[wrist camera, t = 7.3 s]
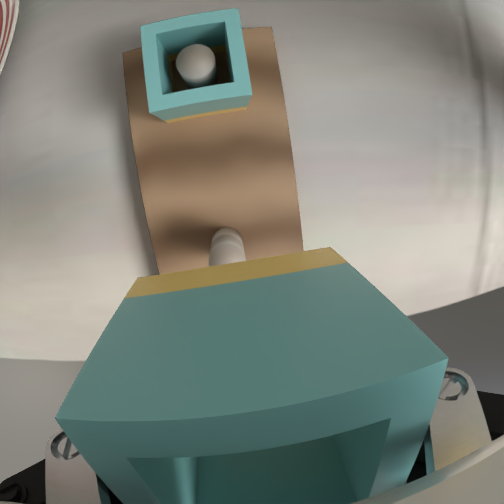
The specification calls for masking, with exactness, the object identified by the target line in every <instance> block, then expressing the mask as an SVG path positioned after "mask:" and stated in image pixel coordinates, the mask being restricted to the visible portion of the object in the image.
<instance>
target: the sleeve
mask: <svg viewBox="0 0 504 504" xmlns="http://www.w3.org/2000/svg"><path fill="white" fill-rule="evenodd" d="M447 362H448V357H447V356H446V355H445V354H444V353H443V352H442V351H441V350H440V349H439V348H438V347H437V346H436V345H435V344H434V343H433V342H432V341H431V340H430V339H429V338H428V337H427V336H426V335H425V334H424V333H423V332H422V331H421V330H420V329H419V328H418V327H417V326H416V325H415V324H414V323H413V322H412V321H411V320H410V319H409V318H408V317H407V316H406V315H404V314H403V313H402V312H401V311H400V310H399V309H398V308H397V307H396V306H395V305H394V304H393V303H392V302H391V301H390V300H389V299H387V298H386V297H385V296H384V295H383V294H382V293H381V292H380V291H379V290H378V289H377V288H376V287H375V286H373V285H372V284H371V283H370V282H369V281H368V280H367V279H366V278H365V277H364V276H362V275H361V274H360V273H359V272H358V271H357V270H356V269H355V268H354V267H352V266H351V265H350V264H349V263H348V262H347V261H346V260H345V259H343V258H342V257H341V256H340V255H339V254H338V253H337V252H336V251H334V250H333V249H332V248H331V247H327V248H321V249H315V250H309V251H303V252H297V253H291V254H284V255H278V256H272V257H266V258H260V259H254V260H248V261H241V262H235V263H229V264H223V265H216V266H210V267H204V268H198V269H191V270H185V271H179V272H172V273H166V274H159V275H153V276H147V277H140V278H137V280H136V281H135V283H134V284H133V286H132V287H131V289H130V290H129V292H128V293H127V295H126V296H125V298H124V299H123V301H122V303H121V304H120V306H119V307H118V309H117V310H116V312H115V314H114V315H113V317H112V318H111V320H110V322H109V323H108V325H107V327H106V328H105V330H104V332H103V333H102V335H101V336H100V338H99V340H98V341H97V343H96V345H95V347H94V348H93V350H92V352H91V353H90V355H89V357H88V359H87V360H86V362H85V364H84V366H83V367H82V369H81V371H80V373H79V374H78V376H77V378H76V380H75V382H74V384H73V385H72V387H71V389H70V391H69V392H68V395H67V396H66V398H65V400H64V402H63V404H62V406H61V408H60V409H59V412H58V413H57V415H56V417H55V419H56V420H57V422H58V423H59V425H60V426H61V428H62V429H63V431H64V432H65V434H66V435H67V436H68V438H69V439H70V441H71V442H72V443H73V445H74V446H75V447H76V449H77V450H78V451H79V453H80V454H81V455H82V457H83V458H84V459H85V460H86V462H87V463H88V464H89V465H90V467H91V468H92V469H93V470H94V472H95V473H96V474H97V475H98V476H99V477H100V479H101V480H102V481H103V482H104V483H105V484H106V485H107V487H108V488H109V489H110V490H111V491H112V492H113V493H114V494H115V495H116V496H117V497H118V499H119V500H120V501H121V502H122V503H123V504H350V503H354V502H357V501H360V500H364V499H367V498H370V497H373V496H376V495H379V494H381V493H384V492H387V491H390V490H392V489H395V488H398V487H400V486H403V485H404V484H405V482H406V480H407V478H408V476H409V474H410V471H411V469H412V467H413V464H414V462H415V460H416V457H417V455H418V453H419V450H420V448H421V445H422V442H423V440H424V437H425V435H426V432H427V429H428V426H429V423H430V421H431V418H432V415H433V412H434V409H435V406H436V402H437V399H438V396H439V392H440V389H441V385H442V382H443V378H444V375H445V371H446V367H447Z"/></svg>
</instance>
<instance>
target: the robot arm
mask: <svg viewBox="0 0 504 504" xmlns="http://www.w3.org/2000/svg"><path fill="white" fill-rule="evenodd" d="M0 504H123V503H122V502H121V501H120V500H119V499H118V497H117V496H116V495H115V494H114V493H113V492H112V491H111V490H110V489H109V488H108V487H107V485H106V484H105V483H104V482H103V481H102V480H101V479H100V477H99V476H98V475H97V474H96V473H95V472H94V470H93V469H92V468H91V467H90V465H89V464H88V463H87V462H86V460H85V459H84V458H83V457H82V455H81V454H80V453H79V451H78V450H77V449H76V447H75V446H74V445H73V443H72V442H71V441H70V439H69V438H68V436H67V435H66V434H65V432H64V431H63V429H60V430H58V431H57V432H55V433H54V434H53V435H52V436H51V437H50V439H49V440H48V442H47V445H46V458H45V459H44V460H42V461H40V462H38V463H36V464H35V465H33V466H31V467H29V468H27V469H25V470H23V471H21V472H19V473H17V474H15V475H13V476H11V477H10V478H7V479H6V480H4V481H3V482H2V483H1V484H0ZM350 504H504V395H500V394H494V393H487V392H481V391H476V389H475V386H474V383H473V381H472V379H471V378H470V377H469V375H467V374H466V373H465V372H463V371H461V370H458V369H454V368H446V371H445V375H444V378H443V382H442V385H441V389H440V392H439V396H438V399H437V402H436V406H435V409H434V412H433V415H432V418H431V421H430V423H429V426H428V429H427V432H426V435H425V437H424V440H423V442H422V445H421V448H420V450H419V453H418V455H417V457H416V460H415V462H414V464H413V467H412V469H411V471H410V474H409V476H408V478H407V480H406V482H405V484H404V485H403V486H400V487H398V488H395V489H392V490H390V491H387V492H384V493H381V494H379V495H376V496H373V497H370V498H367V499H364V500H360V501H357V502H354V503H350Z"/></svg>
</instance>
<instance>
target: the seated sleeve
mask: <svg viewBox="0 0 504 504" xmlns="http://www.w3.org/2000/svg"><path fill="white" fill-rule="evenodd" d="M140 29H141V42H142V53H143V63H144V73H145V82H146V91H147V99H148V106H149V113H151V114H152V115H154V116H156V117H158V118H160V119H162V120H163V121H165V122H167V123H171V122H175V121H180V120H185V119H190V118H196V117H201V116H207V115H213V114H219V113H226V112H232V111H239V110H246V109H247V106H248V104H249V101H250V99H251V97H252V89H251V82H250V76H249V70H248V64H247V58H246V51H245V45H244V40H243V34H242V28H241V22H240V16H239V10H238V8H235V9H226V10H218V11H211V12H204V13H198V14H193V15H187V16H182V17H177V18H172V19H167V20H163V21H159V22H154V23H150V24H147V25H143V26H140ZM194 44H201V45H204V46H207V47H208V48H210V49H211V50H212V52H213V53H218V52H225V53H226V60H227V66H228V73H229V80H230V83H225V84H218V85H212V86H206V87H200V88H195V89H189V90H184V91H179V92H175V85H174V78H173V70H172V62H171V61H173V60H176V59H177V56H178V54H179V53H180V52H181V51H182V50H183V49H184V48H185V47H187V46H190V45H194Z"/></svg>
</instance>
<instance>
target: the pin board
mask: <svg viewBox="0 0 504 504" xmlns="http://www.w3.org/2000/svg"><path fill="white" fill-rule="evenodd" d="M242 34H243V40H244V45H245V51H246V58H247V64H248V70H249V76H250V82H251V89H252V97H251V99H250V101H249V104H248V106H247V109H246V110H239V111H232V112H226V113H219V114H213V115H207V116H201V117H196V118H190V119H185V120H180V121H175V122H171V123H167V122H165V121H163V120H162V119H160V118H158V117H156V116H154V115H152V114H151V113H149V106H148V99H147V91H146V82H145V73H144V63H143V53H142V47H141V48H138V49H134V50H130V51H127V52H124V53H123V65H124V76H125V85H126V95H127V103H128V111H129V119H130V126H131V133H132V140H133V147H134V153H135V159H136V165H137V171H138V177H139V182H140V188H141V193H142V198H143V203H144V208H145V213H146V218H147V223H148V227H149V232H150V236H151V241H152V245H153V249H154V254H155V258H156V262H157V266H158V270H159V274H166V273H172V272H179V271H185V270H191V269H198V268H204V267H210V266H216V265H223V264H229V263H235V262H241V261H248V260H254V259H260V258H266V257H272V256H278V255H284V254H291V253H297V252H303V251H304V250H303V240H302V231H301V221H300V212H299V204H298V195H297V187H296V179H295V171H294V163H293V156H292V148H291V141H290V134H289V127H288V120H287V114H286V107H285V101H284V95H283V89H282V83H281V77H280V71H279V65H278V59H277V54H276V48H275V43H274V37H273V32H272V27H259V28H248V29H242ZM171 62H172V70H173V78H174V85H175V92H179V91H184V90H189V89H195V88H200V87H206V86H212V85H218V84H225V83H230V80H229V73H228V66H227V60H226V53H225V52H218V53H213V52H212V50H211V49H210V48H208V47H207V46H204V45H201V44H194V45H190V46H187V47H185V48H184V49H183V50H182V51H181V52H180V53H179V54H178V56H177V59H176V60H173V61H171Z"/></svg>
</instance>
